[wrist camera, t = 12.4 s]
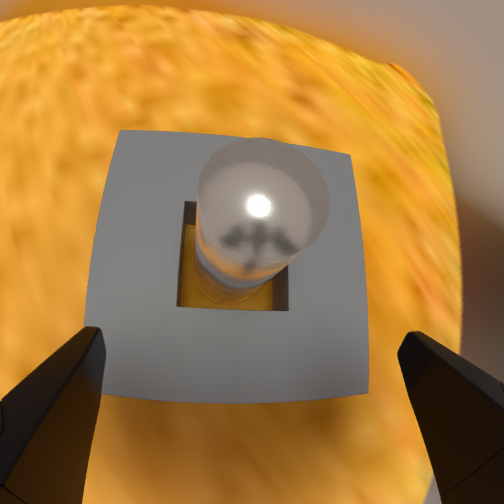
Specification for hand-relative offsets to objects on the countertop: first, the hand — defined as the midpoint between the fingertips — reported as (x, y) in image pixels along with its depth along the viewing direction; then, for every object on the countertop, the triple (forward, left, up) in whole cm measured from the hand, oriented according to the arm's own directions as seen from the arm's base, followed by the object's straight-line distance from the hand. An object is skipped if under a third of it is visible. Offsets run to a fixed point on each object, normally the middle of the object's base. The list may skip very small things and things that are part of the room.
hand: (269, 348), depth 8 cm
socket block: (+4, +3, -11) cm, 12 cm away
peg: (+4, +3, -11) cm, 12 cm away
